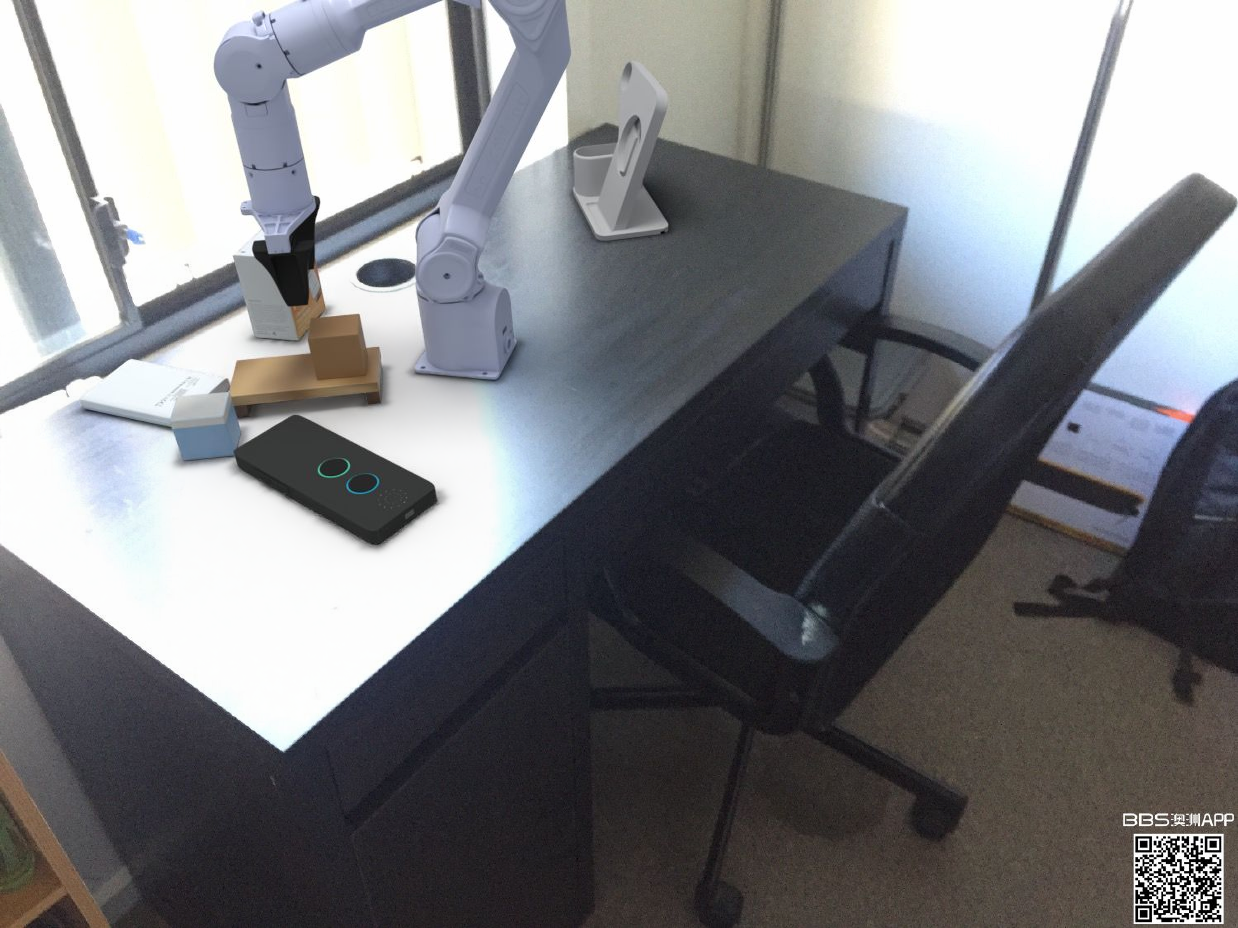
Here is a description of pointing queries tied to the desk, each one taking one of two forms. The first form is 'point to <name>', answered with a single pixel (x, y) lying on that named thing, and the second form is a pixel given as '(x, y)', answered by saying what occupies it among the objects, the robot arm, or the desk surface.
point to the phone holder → (624, 163)
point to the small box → (274, 298)
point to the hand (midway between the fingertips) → (301, 286)
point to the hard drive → (148, 390)
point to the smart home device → (336, 478)
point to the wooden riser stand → (298, 381)
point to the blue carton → (205, 426)
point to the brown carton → (337, 346)
